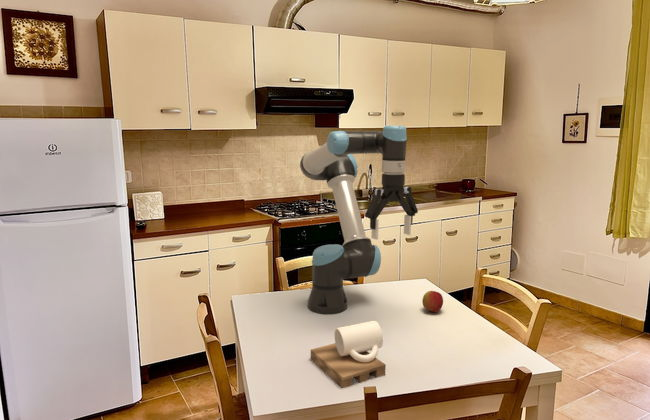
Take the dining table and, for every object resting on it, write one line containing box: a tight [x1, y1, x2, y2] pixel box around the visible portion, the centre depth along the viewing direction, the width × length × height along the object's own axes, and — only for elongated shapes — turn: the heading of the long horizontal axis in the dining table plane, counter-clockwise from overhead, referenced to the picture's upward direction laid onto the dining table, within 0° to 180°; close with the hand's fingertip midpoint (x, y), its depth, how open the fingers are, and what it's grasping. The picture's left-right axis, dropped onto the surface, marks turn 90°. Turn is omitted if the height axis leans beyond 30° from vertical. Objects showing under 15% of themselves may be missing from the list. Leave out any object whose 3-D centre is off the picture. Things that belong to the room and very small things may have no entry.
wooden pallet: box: [310, 343, 387, 389], centre depth 136 cm, size 18×14×3 cm
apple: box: [422, 290, 444, 313], centre depth 176 cm, size 8×8×8 cm
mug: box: [334, 320, 384, 362], centre depth 136 cm, size 8×12×12 cm
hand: (391, 236), depth 159 cm, fingers open, 13 cm apart
